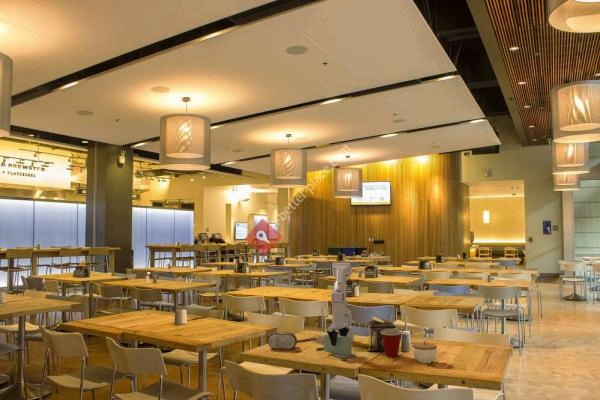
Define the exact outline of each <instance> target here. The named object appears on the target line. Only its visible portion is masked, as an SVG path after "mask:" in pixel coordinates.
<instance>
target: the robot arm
mask: <svg viewBox="0 0 600 400" xmlns="http://www.w3.org/2000/svg"><path fill="white" fill-rule="evenodd" d="M331 268H332V269H331V271H332V275H333V277H334V278H336V281H334V283H333V288H332V289H333V290H332V292H331V295H330V296H331V307H332V318H331V319H332V321H331V323H332V324H330V326H328V327H327V331H326V334H328V335H329V337H330V341H331V345H332V346H336V341H337V335H339V336H346V337H352V342H355V333H354V332H355V330H354V328H353V326H352V323H353V321H352V319H353V318H352V310H350V309H349V308H348V307H347V280H348V278H351V275H352V263H351V262H332V265H331Z"/></svg>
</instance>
